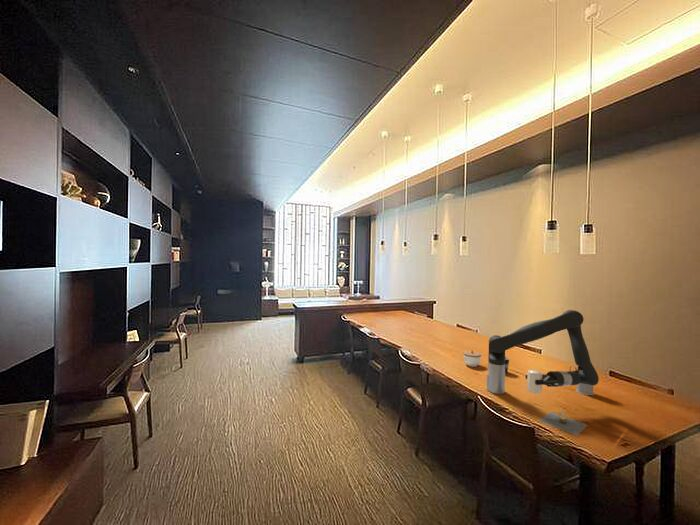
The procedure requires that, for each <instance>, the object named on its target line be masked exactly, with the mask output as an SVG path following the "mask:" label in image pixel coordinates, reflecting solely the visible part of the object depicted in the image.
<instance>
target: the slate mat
mask: <svg viewBox="0 0 700 525" xmlns="http://www.w3.org/2000/svg"><path fill="white" fill-rule="evenodd" d="M559 420H560V414H558V413H554V412H552V411H549V413H546V415H544V416H543V417H541V419H539V420H538V422H539V423H543V424H545V425H548V426H551V427H554V428H556V429H559V430H562V431H564V432H567V433H570V434H572V435H574V436H579V434H581V433H582V431H583V430H585V428H587V426H588V424H587V423H583V422H580V421H578V420H575V419H572V418H569V417H567V419H566V424H561V423H560V422H559Z"/></svg>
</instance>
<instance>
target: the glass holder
mask: <svg viewBox="0 0 700 525" xmlns="http://www.w3.org/2000/svg"><path fill="white" fill-rule="evenodd" d="M572 367H573V368H574V369H575V370H583V369H582V368H581V367H580V366H578V365H577V367H576V366H575V365H570V366H569V371H572ZM576 391H577V392H578V394H579V393H581V394H580V395H582V394H584V395H583V396H586V395H593V396H595V394H594V385H588V384H582V383H579V384H578V385H576V390H575V392H576ZM577 392H576V393H577Z"/></svg>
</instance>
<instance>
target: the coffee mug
mask: <svg viewBox="0 0 700 525" xmlns="http://www.w3.org/2000/svg"><path fill="white" fill-rule="evenodd" d="M509 363H510V358H509V357H507V356H505V374H508V371H509Z"/></svg>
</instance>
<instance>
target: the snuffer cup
mask: <svg viewBox="0 0 700 525" xmlns="http://www.w3.org/2000/svg"><path fill="white" fill-rule="evenodd" d="M542 374H543V373H542V372H541V371H539V370H535V369H528V371H527V374H526V375H527V379H526V383H527V385H526V390H527V392H530V393H532V394H537V395H538V394H542V393H543V385H536V384H535V380H542Z"/></svg>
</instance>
